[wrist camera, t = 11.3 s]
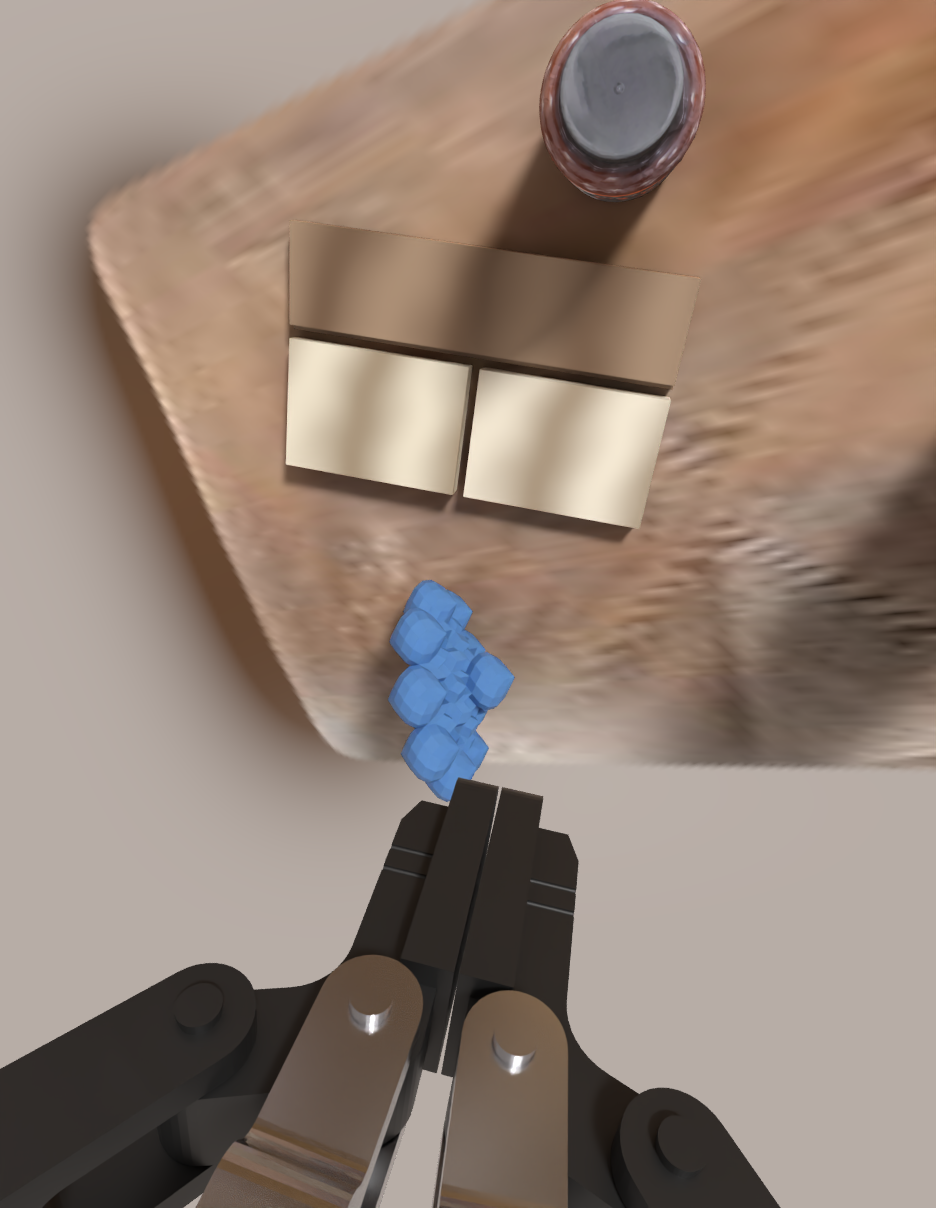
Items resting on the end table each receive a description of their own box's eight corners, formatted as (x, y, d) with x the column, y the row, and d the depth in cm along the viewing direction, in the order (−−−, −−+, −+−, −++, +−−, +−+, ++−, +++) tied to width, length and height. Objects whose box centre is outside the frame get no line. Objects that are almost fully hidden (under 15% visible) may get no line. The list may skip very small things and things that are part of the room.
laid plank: (699, 277, 36) (701, 278, 35) (671, 387, 38) (673, 391, 37) (298, 220, 38) (289, 220, 37) (298, 327, 41) (289, 330, 40)
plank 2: (669, 396, 38) (671, 400, 37) (638, 522, 41) (639, 529, 40) (483, 366, 40) (479, 369, 38) (467, 490, 43) (463, 496, 42)
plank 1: (472, 365, 40) (468, 367, 39) (456, 489, 43) (452, 495, 41) (298, 336, 41) (289, 338, 40) (294, 460, 44) (285, 464, 43)
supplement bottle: (597, 230, 36) (584, 233, 26) (532, 112, 34) (491, 66, 24) (713, 146, 33) (747, 114, 23) (649, 14, 31) (656, -81, 22)
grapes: (548, 703, 49) (525, 834, 38) (453, 714, 51) (406, 841, 40) (505, 544, 44) (465, 643, 34) (402, 563, 46) (334, 662, 36)
